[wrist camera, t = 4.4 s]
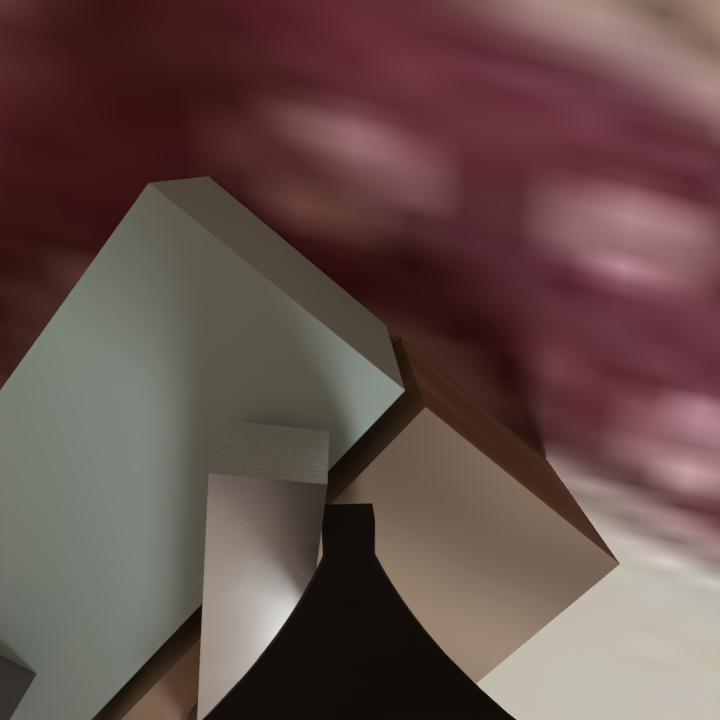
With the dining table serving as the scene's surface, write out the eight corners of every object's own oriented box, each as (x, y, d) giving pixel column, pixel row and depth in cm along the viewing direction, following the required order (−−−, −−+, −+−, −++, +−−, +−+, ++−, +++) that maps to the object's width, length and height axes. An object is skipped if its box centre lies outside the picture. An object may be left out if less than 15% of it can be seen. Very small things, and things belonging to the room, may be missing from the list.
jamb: (265, 720, 22) (243, 885, 17) (121, 640, 20) (51, 796, 15) (546, 460, 18) (624, 570, 13) (400, 337, 17) (427, 411, 12)
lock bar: (298, 793, 15) (291, 917, 13) (193, 789, 15) (164, 913, 12) (348, 433, 11) (351, 507, 9) (210, 418, 11) (174, 491, 9)
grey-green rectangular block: (107, 632, 20) (-17, 884, 13) (-61, 537, 18) (-304, 767, 11) (385, 324, 16) (421, 444, 10) (208, 176, 15) (94, 188, 8)
